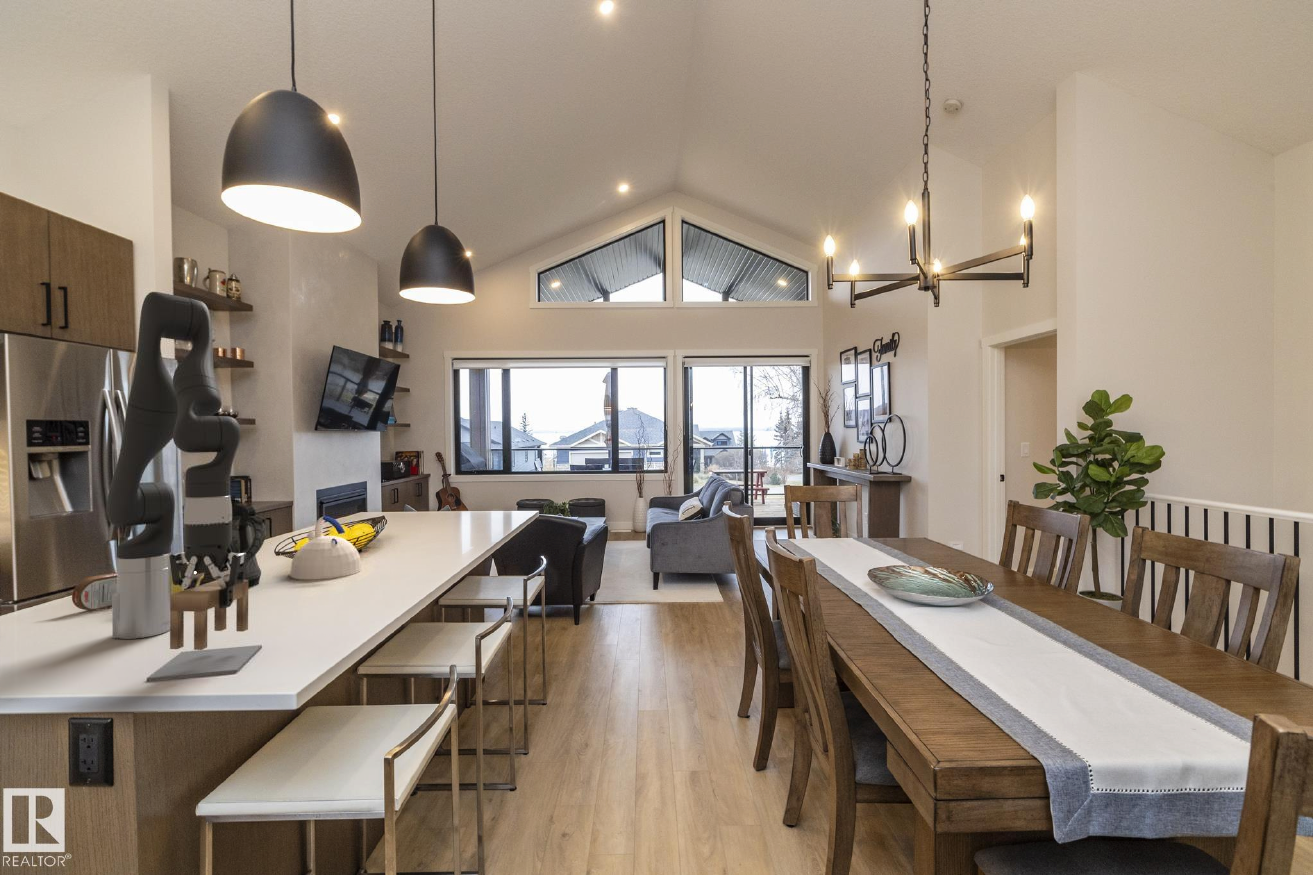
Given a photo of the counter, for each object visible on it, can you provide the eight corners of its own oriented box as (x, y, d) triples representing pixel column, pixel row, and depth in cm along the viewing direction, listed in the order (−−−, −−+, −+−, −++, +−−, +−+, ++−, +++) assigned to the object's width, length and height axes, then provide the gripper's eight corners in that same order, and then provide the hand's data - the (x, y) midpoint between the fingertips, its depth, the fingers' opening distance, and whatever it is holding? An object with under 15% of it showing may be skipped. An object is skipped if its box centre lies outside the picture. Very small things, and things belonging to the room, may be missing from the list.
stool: (219, 579, 126) (170, 594, 114) (248, 579, 125) (201, 595, 113) (219, 628, 126) (170, 649, 114) (248, 629, 126) (201, 649, 114)
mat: (146, 681, 110) (146, 677, 110) (181, 654, 124) (181, 651, 124) (237, 672, 114) (237, 669, 114) (261, 647, 128) (261, 644, 128)
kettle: (341, 563, 213) (341, 510, 212) (374, 571, 200) (374, 515, 200) (277, 574, 196) (277, 517, 196) (309, 583, 184) (309, 522, 184)
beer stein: (206, 581, 186) (206, 498, 186) (279, 577, 191) (279, 496, 191) (181, 595, 170) (180, 504, 170) (261, 590, 175) (261, 501, 175)
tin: (140, 598, 166) (140, 567, 166) (148, 600, 165) (148, 568, 165) (70, 613, 152) (70, 579, 152) (78, 615, 151) (78, 580, 151)
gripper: (155, 522, 116) (156, 612, 116) (229, 522, 115) (230, 613, 115) (188, 517, 123) (188, 601, 123) (258, 517, 122) (258, 602, 122)
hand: (208, 606), depth 119 cm, fingers closed on stool, 6 cm apart
